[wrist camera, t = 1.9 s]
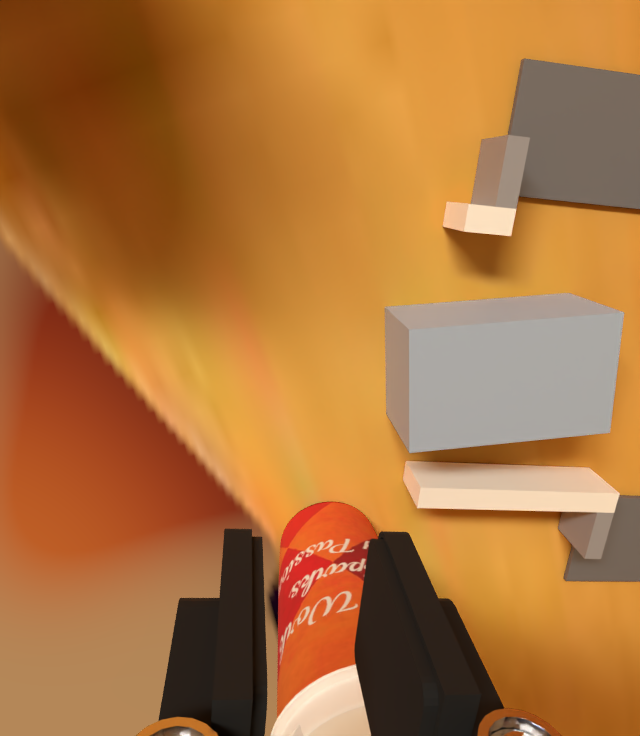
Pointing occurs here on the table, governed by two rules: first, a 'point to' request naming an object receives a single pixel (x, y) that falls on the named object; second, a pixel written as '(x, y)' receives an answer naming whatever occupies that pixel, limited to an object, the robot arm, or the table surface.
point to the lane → (496, 216)
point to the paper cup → (321, 622)
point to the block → (500, 370)
